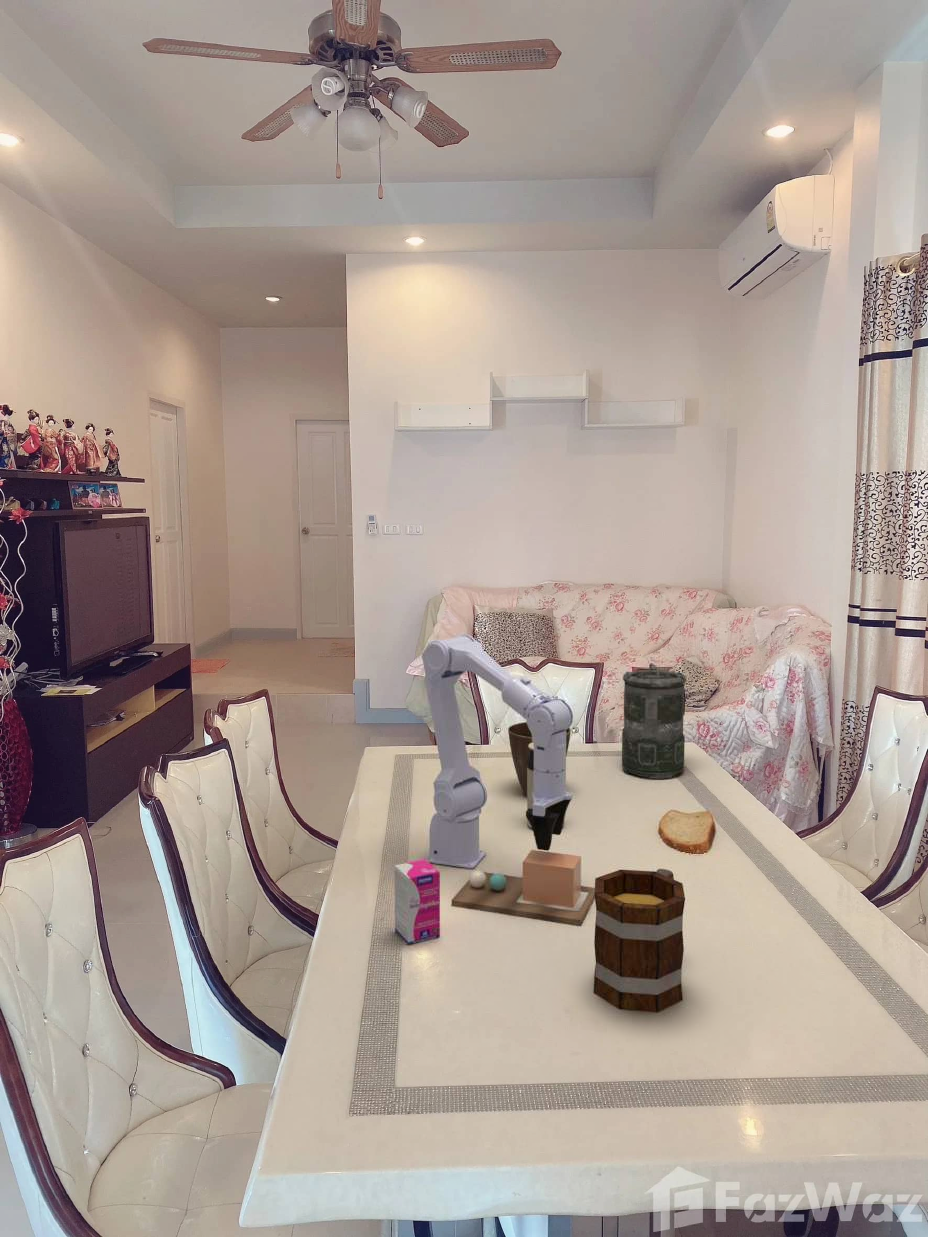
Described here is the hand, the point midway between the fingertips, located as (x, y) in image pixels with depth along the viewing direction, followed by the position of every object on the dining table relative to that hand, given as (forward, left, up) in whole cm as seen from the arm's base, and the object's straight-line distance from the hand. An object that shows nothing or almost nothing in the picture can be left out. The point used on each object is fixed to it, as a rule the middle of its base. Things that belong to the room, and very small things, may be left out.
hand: (549, 841), depth 159 cm
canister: (+7, +78, -10) cm, 79 cm away
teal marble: (-8, -5, -7) cm, 12 cm away
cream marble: (-12, -5, -7) cm, 15 cm away
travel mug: (-9, +31, -10) cm, 34 cm away
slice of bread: (+21, +36, -10) cm, 43 cm away
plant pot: (-16, +51, -10) cm, 54 cm away
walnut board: (-3, -5, -9) cm, 11 cm away
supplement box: (-16, -23, -10) cm, 29 cm away
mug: (+21, -24, -10) cm, 33 cm away
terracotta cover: (+2, -5, -8) cm, 10 cm away
